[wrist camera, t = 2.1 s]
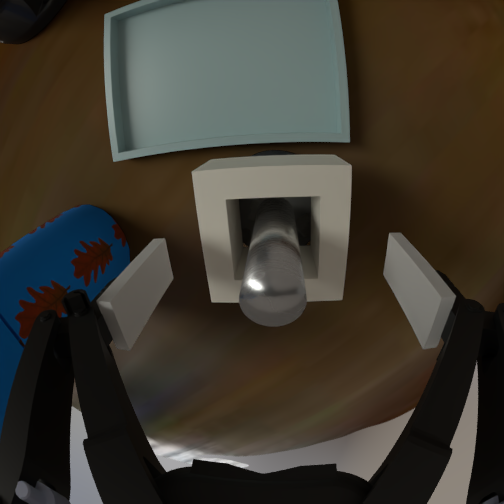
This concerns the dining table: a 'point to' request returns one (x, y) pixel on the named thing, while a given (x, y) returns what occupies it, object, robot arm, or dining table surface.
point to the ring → (265, 186)
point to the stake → (274, 256)
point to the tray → (224, 74)
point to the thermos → (53, 276)
